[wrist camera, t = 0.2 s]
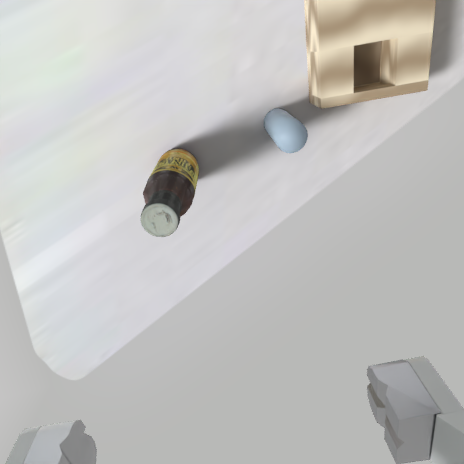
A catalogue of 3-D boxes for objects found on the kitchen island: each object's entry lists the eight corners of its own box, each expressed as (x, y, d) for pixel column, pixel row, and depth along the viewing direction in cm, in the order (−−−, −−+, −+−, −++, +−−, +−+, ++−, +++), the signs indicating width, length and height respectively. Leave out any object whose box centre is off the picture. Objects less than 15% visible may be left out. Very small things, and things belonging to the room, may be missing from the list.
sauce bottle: (202, 151, 54) (201, 200, 36) (194, 189, 57) (189, 251, 39) (159, 141, 53) (136, 187, 35) (153, 180, 56) (129, 241, 38)
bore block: (303, -12, 45) (316, -20, 40) (412, -31, 45) (439, -42, 40) (309, 102, 52) (321, 108, 46) (404, 86, 52) (427, 90, 46)
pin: (262, 110, 52) (274, 123, 43) (289, 106, 52) (306, 117, 43) (265, 138, 54) (277, 155, 45) (291, 133, 54) (308, 150, 45)
